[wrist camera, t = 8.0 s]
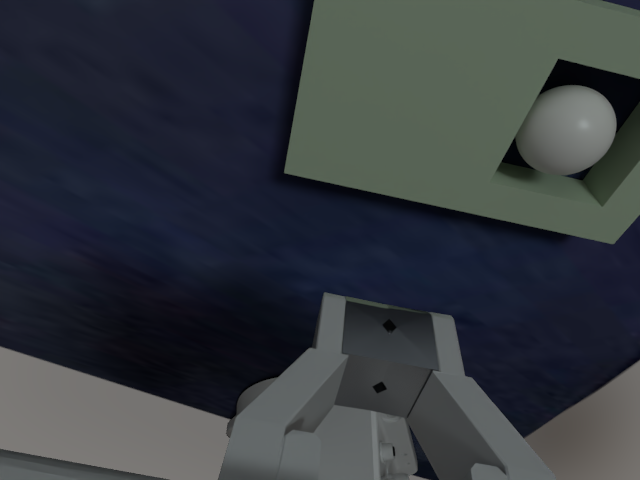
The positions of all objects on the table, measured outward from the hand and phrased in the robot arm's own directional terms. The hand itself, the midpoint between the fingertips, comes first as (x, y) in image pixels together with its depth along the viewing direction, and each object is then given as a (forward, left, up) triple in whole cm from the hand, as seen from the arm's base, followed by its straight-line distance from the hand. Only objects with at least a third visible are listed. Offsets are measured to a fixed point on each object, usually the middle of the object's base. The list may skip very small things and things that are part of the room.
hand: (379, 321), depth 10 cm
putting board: (-3, -5, -14) cm, 16 cm away
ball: (-5, -8, -12) cm, 15 cm away
